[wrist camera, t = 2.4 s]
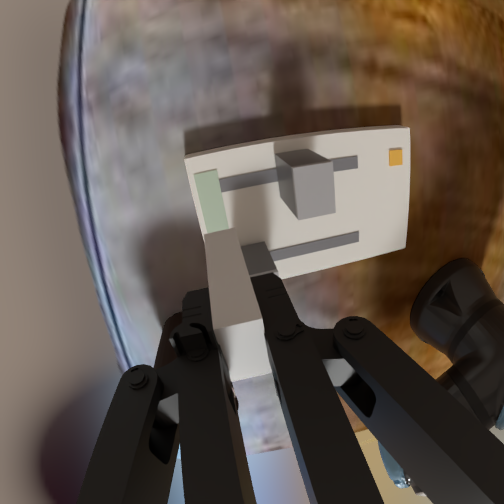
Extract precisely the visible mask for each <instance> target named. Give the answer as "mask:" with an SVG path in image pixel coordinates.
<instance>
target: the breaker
mask: <svg viewBox="0 0 504 504" xmlns="http://www.w3.org/2000/svg"><path fill="white" fill-rule="evenodd" d="M240 247H241V250H242V253H243V257H244V260H245V263H246V267H247V270H248V273H249V276H250V277H254V276H258V275H263V274H267V273H271V272H273V273H274V274H276V275H277V276H278V277H279V273H278V270H277V268H276V265H275V263H274V261H273V259H272V257H271V254H270V252H269V250H268V248H267V246H266V243H265V241H263V242H259V243H254V244H249V245H245V246H240Z"/></svg>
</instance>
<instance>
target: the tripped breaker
mask: <svg viewBox="0 0 504 504" xmlns="http://www.w3.org/2000/svg"><path fill="white" fill-rule="evenodd" d="M274 155H275V162H276V169H277V176H278V184H279V192H280V198H281V199H282V200H283V201H284V203H285V204H286V205H287V206H288V208H289V209H290V210H291V212H292V213H293V214H294V215H295V217H296V218H297V219H298V220H303V219H308V218H313V217H318V216H323V215H328V214H333V213H336V206H335V187H334V171H333V162H332V161H330V160H329V159H327V158H325V157H323V156H321V155H319V154H317V153H315V152H313V151H311V150H309V149H302V150H295V151H289V152H282V153H276V154H274Z"/></svg>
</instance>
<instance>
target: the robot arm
mask: <svg viewBox="0 0 504 504" xmlns="http://www.w3.org/2000/svg"><path fill="white" fill-rule="evenodd" d="M204 241H205V253H206V264H207V275H208V285H209V288H204V289H200V290H195V291H190V292H187V294H186V296H185V297H184V299H183V304H182V310H183V312H182V317H183V319H182V323H181V324H180V325H178V326H177V327H175V328H174V330H173V331H172V332H171V334H170V337H169V340H170V342H171V345H172V347H173V349H174V351H175V353H176V355H177V358H176V359H175V360H173V361H172V362H171V363H169V364H167V365H165V366H163V367H161V368H158V369H156V370H155V369H154V368H153V367H151V366H149V365H145V364H143V365H136V366H134V367H131V368H130V369H128V370H127V371H126V372H125V373H124V374H123V376H122V377H121V379H120V382H119V384H118V387H117V389H116V392H115V394H114V397H113V399H112V402H111V405H110V407H109V410H108V412H107V415H106V418H105V420H104V423H103V426H102V428H101V431H100V434H99V437H98V439H97V442H96V445H95V448H94V451H93V454H92V457H91V459H90V462H89V465H88V469H87V472H86V475H85V478H84V481H83V485H82V487H81V490H80V494H79V497H78V500H77V504H167V503H168V498H169V493H170V487H171V482H172V477H173V473H174V467H175V463H176V458H177V453H178V449H179V444H180V450H181V464H182V476H183V488H184V498H185V504H257V503H256V499H255V495H254V490H253V486H252V481H251V476H250V471H249V467H248V462H247V457H246V452H245V447H244V442H243V437H242V432H241V427H240V422H239V416H238V411H237V406H236V400H235V395H234V392H233V389H232V386H231V382H232V381H237V380H242V379H246V378H251V377H255V376H260V375H264V374H268V373H273V377H274V382H275V388H276V393H277V396H278V397H279V401H280V404H281V407H282V411H283V414H284V418H285V421H286V424H287V428H288V431H289V435H290V438H291V441H292V445H293V448H294V451H295V455H296V458H297V461H298V465H299V468H300V471H301V475H302V478H303V481H304V485H305V488H306V491H307V494H308V498H309V501H310V504H384V502H383V500H382V497H381V495H380V492H379V490H378V487H377V485H376V483H375V480H374V478H373V476H372V473H371V471H370V468H369V466H368V464H367V461H366V459H365V457H364V454H363V452H362V450H361V447H360V445H359V443H358V440H357V438H356V436H355V433H354V431H353V429H352V427H351V424H350V422H349V420H348V417H347V415H346V413H345V411H344V408H343V406H342V404H341V401H340V399H339V397H338V395H337V392H338V394H339V395H340V396H341V397H342V398H343V400H344V401H345V402H346V403H347V404H348V406H349V407H350V408H351V409H352V410H353V411H354V413H355V414H356V415H357V416H358V417H359V419H360V420H361V421H362V422H363V423H364V425H365V426H366V427H367V428H368V429H369V430H370V432H371V433H372V434H373V435H374V436H375V437H376V439H377V440H378V445H379V450H380V454H381V457H382V460H383V463H384V466H385V468H386V470H387V472H388V475H389V477H390V478H391V480H393V481H394V484H395V485H396V486H397V487H399V488H407V487H409V486H410V485H411V486H412V488H413V490H414V492H415V493H416V495H420V496H427V497H428V498H429V499H430V500H431V502H432V503H433V504H504V444H503V443H502V442H501V441H500V440H499V439H498V438H497V437H496V436H495V435H494V434H492V433H491V432H490V431H489V429H490V428H492V427H493V426H494V425H495V427H496V428H498V429H499V430H503V429H504V304H503V303H502V302H501V301H500V300H499V299H498V298H497V297H496V295H495V294H494V292H493V290H492V288H491V287H490V285H489V283H488V282H487V280H486V279H485V275H484V273H483V271H482V270H481V269H480V267H478V266H477V265H476V264H475V263H474V262H472V261H471V260H469V259H457V260H454V261H452V262H450V263H448V264H447V265H445V266H444V267H442V268H441V269H440V270H439V271H438V272H437V273H435V274H434V275H433V276H432V278H431V279H430V280H429V281H428V282H427V283H426V285H425V286H424V287H423V289H422V290H421V292H420V293H419V295H418V297H417V299H416V301H415V303H414V305H413V308H412V311H411V316H410V324H411V328H412V330H413V331H414V332H415V334H416V335H417V336H418V337H419V339H421V340H422V341H423V342H425V343H428V344H430V345H431V346H433V347H434V348H436V349H437V350H439V351H440V352H442V353H444V354H445V355H446V356H447V357H448V358H449V359H450V361H451V362H452V363H453V366H452V367H450V368H449V369H448V370H447V371H446V372H444V373H443V374H442V375H441V376H440V377H438V378H437V379H436V380H435V379H434V378H433V377H432V376H430V375H429V374H428V373H427V372H426V371H425V370H424V369H423V368H422V367H421V366H419V365H418V364H417V363H416V362H415V361H414V360H413V359H412V358H411V357H410V356H408V355H407V354H406V353H405V352H404V351H403V350H402V349H401V348H400V347H398V346H397V345H396V344H395V343H394V342H393V341H392V340H391V339H389V338H388V337H387V336H386V335H385V334H384V333H383V332H382V331H380V330H379V329H378V328H377V327H376V326H375V325H374V324H372V323H371V322H370V321H368V320H367V319H365V318H362V317H358V316H350V317H346V318H343V319H341V320H340V321H339V322H337V323H336V325H335V327H334V329H315V328H311V327H308V326H306V325H305V324H304V323H303V322H301V321H300V319H299V318H298V316H297V313H296V311H295V309H294V307H293V304H292V302H291V300H290V298H289V296H288V294H287V291H286V289H285V287H284V285H283V282H282V280H281V278H280V277H278V276H277V275H276V274H274V273H273V272H271V273H267V274H263V275H258V276H254V277H250V276H249V273H248V270H247V267H246V263H245V260H244V257H243V253H242V250H241V247H240V243H239V240H238V237H237V234H236V230H235V227H234V228H230V229H225V230H221V231H216V232H212V233H207V234H204ZM230 379H231V380H230ZM336 391H337V392H336Z"/></svg>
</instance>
